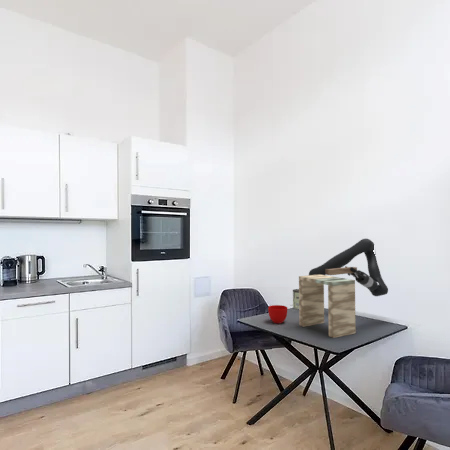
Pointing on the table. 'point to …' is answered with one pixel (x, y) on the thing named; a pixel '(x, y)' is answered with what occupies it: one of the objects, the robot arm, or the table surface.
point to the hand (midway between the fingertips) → (348, 268)
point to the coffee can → (296, 298)
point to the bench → (337, 303)
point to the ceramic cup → (277, 313)
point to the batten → (339, 271)
